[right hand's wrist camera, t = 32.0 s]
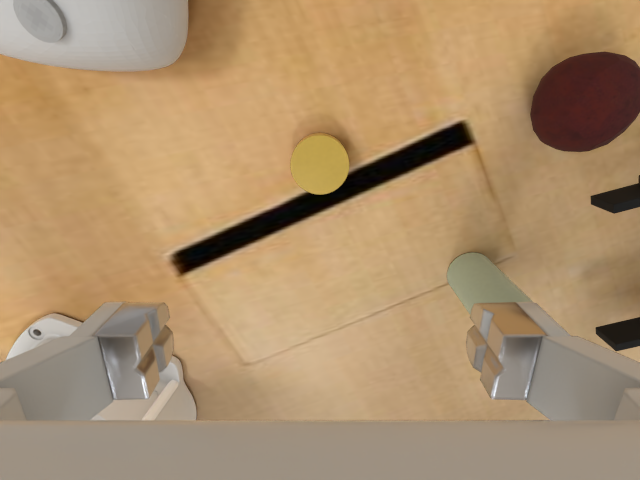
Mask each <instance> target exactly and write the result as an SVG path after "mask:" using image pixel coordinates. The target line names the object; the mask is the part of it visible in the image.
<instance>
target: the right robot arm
mask: <svg viewBox="0 0 640 480" xmlns="http://www.w3.org/2000/svg"><path fill="white" fill-rule="evenodd" d="M169 318H170V315H169V310H168V306H167V305H166V304H165V303H153V302H106V303H104V304H102V305H101V306H100V307H99V308H98V309H97V310H96V311H95V312H94V313H93V314H92V315H91V316H90V317H89V318H88V319H87V320H86V321H85V322H83V323H82V322H80V321H77V320H74V319H72V318H69V317H66V316H63V315H60V314H56V313H52V314H49V315H46V316H44V317H41V318H40V319H38V320H36V321H35V322H34V323H32V324H31V325H30V326H29V327H28V328H27V329H26V330H25V331H24V332H23V333H22V334H21V335H20V336H19V338H18V339H17V340H16V342H15V343H14V345H13V346H12V348H11V350H10V351H9V353H8V356H7V358H6V360H5V361H3V362H0V480H640V363H639V362H637V361H635V360H632V359H630V358H628V357H625V356H623V355H621V354H618V353H616V352H613V351H611V350H609V349H606V348H604V347H602V346H599V345H597V344H595V343H592V342H590V341H588V340H585V339H583V338H580V337H578V336H570V335H569V334H568V333H567V332H566V331H565V330H564V329H563V328H562V327H561V326H560V325H559V324H558V323H557V322H556V321H555V320H553V319H552V318H551V317H550V316H549V315H548V314H547V313H546V312H545V311H544V310H543V309H542V308H541V307H540V306H539V305H538V304H537V303H534V302H499V303H474V305H473V307H472V309H471V314H470V318H471V320H472V321H473V323H474V324H475V325H474V326H473V327H472V328H471V329H470V330H469V331H468V332H467V340H466V346H467V354H468V357H469V361H470V362H471V364H472V366H473V368H475V369H476V370H478V371H480V372H481V377H480V380H481V382H482V384H483V386H484V387H485V389H486V391H487V393H488V394H489V396H490V398H491V399H506V400H527V401H526V402H528V403H529V404H530V405H532V406H533V407H534V408H535V409H537V410H538V411H539V412H541V413H542V414H543V415H545V416H546V417H547V418H549V419H550V420H196V417H197V411H196V405H195V402H194V399H193V397H192V395H191V393H190V391H189V390H188V388H187V386H186V384H185V382H184V380H183V369H182V365H181V362H180V361H179V359H178V358H176V357H174V356H172V353H173V349H174V339H173V332H172V331H171V330H170V329H169V328H168V327H167V326H166V325H165V324H166V323H167V321H168V320H169ZM39 330H40V331H41V332H40V331H39Z"/></svg>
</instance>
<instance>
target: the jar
mask: <svg viewBox="0 0 640 480" xmlns="http://www.w3.org/2000/svg"><path fill="white" fill-rule="evenodd" d="M447 280H448V283H449V285H450V286H451V288H452V289H453V291H454V292H455V293H456V295H457V296H458V298H459V299H460V301H461V302H462V304H463V305H464V307H465V308H466V309H467V311H468V312H469V314H471V309H472V307H473V305H474V303H499V302H533V301H532V300H531V299H530V298H529V297H528V296H526V295H525V294H524V293H523V292H522V291H521V290H520V289H519V288H518V287H517V286H516V285H515V284H514V283H513V282H512V281H511V280H510V279H509V278H508V277H507V276H506V275H505V274H504V273H503V272H502V271H501V270H500V269H499V268H497V267H496V266H495V265H494V264H493V263H492V262H491V261H490V260H489V259H488V258H487V257H486V256H484V255H482V254H480V253H474V252H472V253H466V254H463V255H460V256H459V257H457V258H456V259H455V260H454V261H453V262H452V263H451V264H450V266H449V268H448V272H447Z"/></svg>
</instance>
